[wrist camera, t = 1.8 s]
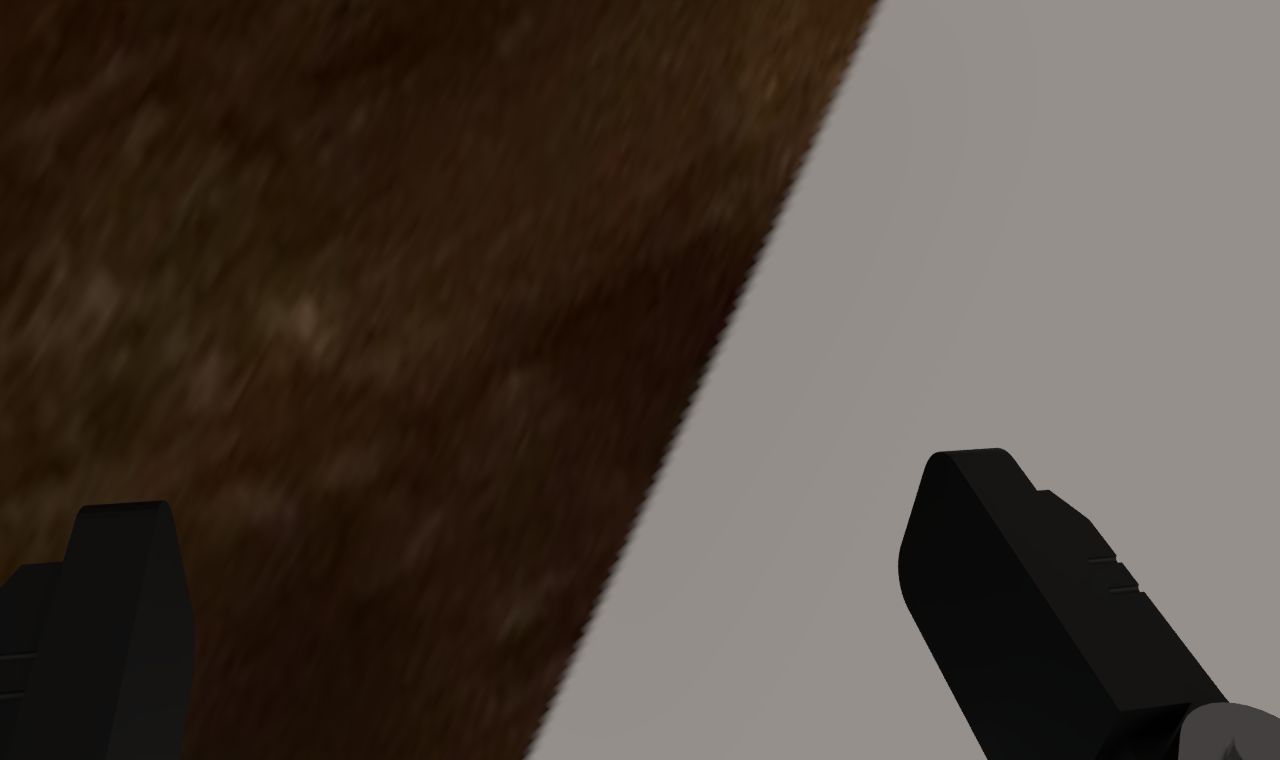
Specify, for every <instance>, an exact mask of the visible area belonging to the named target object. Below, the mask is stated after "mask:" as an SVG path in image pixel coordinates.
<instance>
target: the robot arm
mask: <svg viewBox="0 0 1280 760" xmlns="http://www.w3.org/2000/svg"><path fill="white" fill-rule="evenodd" d="M898 573H899V581H900V587H901V591H902V595H903V598H904V600H905V603H906V605H907V607H908V609H909V611H910V613H911V615H912V617H913V619H914V621H915V622H916V625H917V626H918V628H919V630H920V632H921V634H922V636H923V638H924V640H925V642H926V643H927V645H928V647H929V649H930V651H931V653H932V655H933V657H934V659H935V661H936V662H937V664H938V666H939V668H940V670H941V672H942V674H943V676H944V678H945V680H946V682H947V683H948V685H949V687H950V689H951V691H952V693H953V695H954V697H955V699H956V700H957V702H958V704H959V706H960V708H961V710H962V712H963V714H964V716H965V718H966V719H967V721H968V723H969V725H970V727H971V729H972V731H973V733H974V735H975V737H976V739H977V741H978V742H979V744H980V746H981V748H982V750H983V752H984V754H985V756H986V758H987V760H1280V719H1279V718H1277V717H1276V716H1274V715H1271V714H1269V713H1267V712H1264V711H1262V710H1259V709H1256V708H1253V707H1250V706H1246V705H1241V704H1236V703H1229V701H1228V700H1227V699H1226V698H1225V697H1224V695H1223V694H1222V693H1221V692H1220V690H1219V689H1218V688H1217V686H1216V685H1215V684H1214V682H1213V681H1212V680H1211V678H1210V677H1209V676H1208V675H1207V673H1206V672H1205V671H1204V669H1203V668H1202V667H1201V665H1200V664H1199V663H1198V661H1197V660H1196V659H1195V657H1194V656H1193V655H1192V654H1191V652H1190V651H1189V650H1188V649H1187V647H1186V646H1185V644H1184V643H1183V642H1182V641H1181V639H1180V638H1179V637H1178V635H1177V634H1176V633H1175V631H1174V630H1173V629H1172V627H1171V626H1170V625H1169V623H1168V622H1167V621H1166V620H1165V618H1164V617H1163V616H1162V614H1161V613H1160V612H1159V611H1158V609H1157V608H1156V606H1155V605H1154V604H1153V602H1152V601H1151V600H1150V599H1149V597H1148V596H1147V595H1146V593H1145V592H1140V591H1139V589H1138V583H1137V582H1136V580H1135V579H1134V578H1133V577H1132V575H1131V574H1130V572H1129V571H1128V570H1127V569H1126V567H1125V566H1124V565H1123V564H1122V562H1121V563H1118V562H1117V561H1116V554H1115V553H1114V551H1113V550H1112V549H1111V547H1110V546H1109V545H1108V544H1107V542H1106V541H1105V540H1104V538H1103V537H1102V536H1101V534H1100V533H1099V532H1098V530H1097V529H1096V528H1095V527H1094V525H1093V524H1092V523H1091V522H1090V520H1089V519H1088V518H1086V517H1085V516H1084V515H1082V514H1081V513H1080V512H1078V511H1077V510H1075V509H1074V508H1073V507H1071V506H1070V505H1069V504H1067V503H1066V502H1065V501H1063V500H1062V499H1061V498H1059V497H1058V496H1057V495H1055V494H1054V493H1052V492H1051V491H1050V490H1041V491H1037V490H1036V488H1035V487H1034V486H1033V484H1032V483H1031V482H1030V480H1029V479H1028V477H1027V476H1026V475H1025V473H1024V472H1023V471H1022V469H1021V468H1020V467H1019V465H1018V464H1017V462H1016V461H1015V460H1014V459H1013V457H1012V456H1011V455H1010V454H1009V453H1008V452H1007V451H1005V450H1003V449H1001V448H990V449H974V450H960V451H944V452H936V453H935V454H933V455H932V456H931V457H930V458H929V460H928V462H927V464H926V466H925V469H924V472H923V475H922V479H921V482H920V485H919V489H918V492H917V496H916V498H915V502H914V505H913V508H912V511H911V515H910V518H909V521H908V524H907V528H906V531H905V534H904V537H903V541H902V544H901V547H900V552H899V559H898ZM194 650H195V639H194V621H193V612H192V606H191V601H190V596H189V592H188V587H187V582H186V577H185V573H184V568H183V563H182V558H181V553H180V549H179V544H178V539H177V534H176V530H175V525H174V520H173V516H172V512H171V509H170V506H169V504H168V503H167V501H164V500H163V501H148V502H133V503H117V504H102V505H87V506H83V507H82V508H81V509H80V510H79V512H78V514H77V517H76V520H75V523H74V527H73V530H72V533H71V537H70V540H69V543H68V547H67V550H66V554H65V557H64V560H63V562H54V563H40V564H27V565H21V566H20V567H19V568H18V570H17V571H16V572H15V573H14V574H13V575H12V576H11V577H10V578H9V579H8V581H7V582H6V583H5V584H4V585H3V586H2V587H1V588H0V760H180V756H181V750H182V743H183V736H184V729H185V723H186V716H187V709H188V703H189V696H190V689H191V682H192V676H193V667H194Z"/></svg>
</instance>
